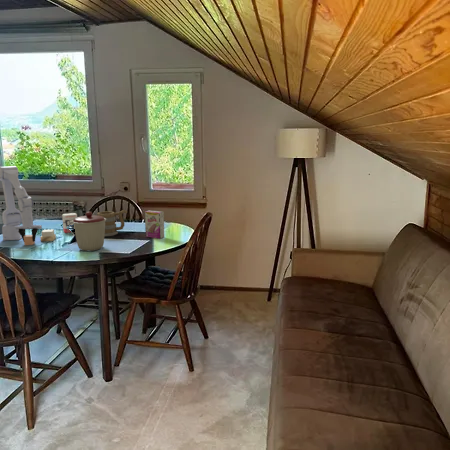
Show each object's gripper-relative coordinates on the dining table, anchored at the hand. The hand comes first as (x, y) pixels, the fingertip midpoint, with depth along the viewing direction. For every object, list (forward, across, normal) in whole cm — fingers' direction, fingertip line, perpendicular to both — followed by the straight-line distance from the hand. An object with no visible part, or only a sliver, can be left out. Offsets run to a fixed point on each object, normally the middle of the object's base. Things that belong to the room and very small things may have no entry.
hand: (29, 241), depth 246 cm
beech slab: (+2, +8, +10) cm, 13 cm away
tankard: (+2, +45, +21) cm, 50 cm away
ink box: (+2, +17, +31) cm, 35 cm away
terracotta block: (+2, 0, 0) cm, 2 cm away
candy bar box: (+2, +72, +6) cm, 72 cm away
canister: (+2, +37, -16) cm, 40 cm away
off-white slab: (-1, +8, +10) cm, 13 cm away
